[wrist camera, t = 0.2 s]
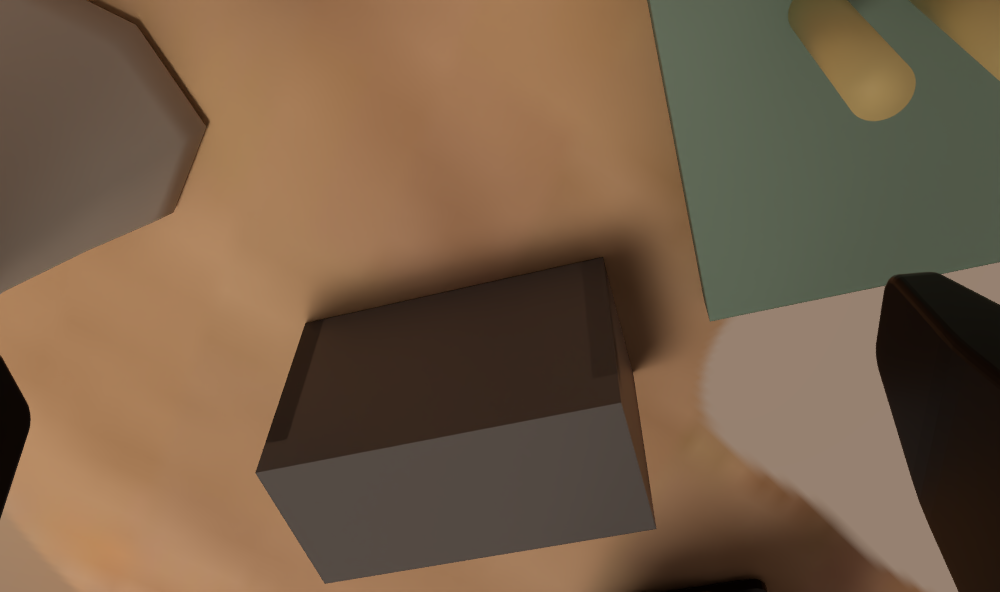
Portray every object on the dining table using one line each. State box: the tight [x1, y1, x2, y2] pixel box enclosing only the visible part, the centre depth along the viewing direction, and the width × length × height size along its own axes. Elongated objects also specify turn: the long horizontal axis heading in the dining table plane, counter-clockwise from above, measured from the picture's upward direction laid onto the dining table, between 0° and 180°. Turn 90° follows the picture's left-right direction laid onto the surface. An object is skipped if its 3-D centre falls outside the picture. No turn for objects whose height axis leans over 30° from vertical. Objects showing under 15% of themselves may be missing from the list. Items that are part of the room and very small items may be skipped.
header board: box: [647, 0, 1000, 321], centre depth 18 cm, size 16×12×6 cm
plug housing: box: [256, 257, 656, 584], centre depth 25 cm, size 4×9×6 cm, turn 106°
